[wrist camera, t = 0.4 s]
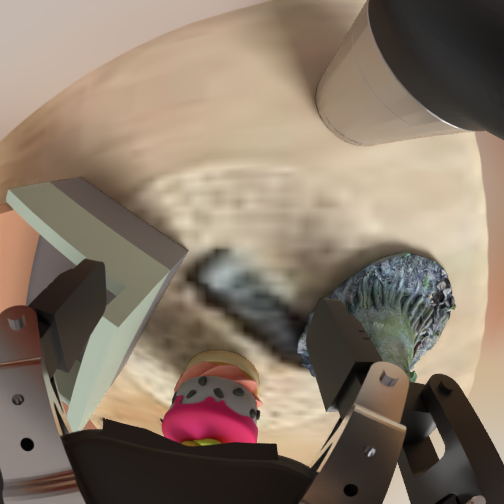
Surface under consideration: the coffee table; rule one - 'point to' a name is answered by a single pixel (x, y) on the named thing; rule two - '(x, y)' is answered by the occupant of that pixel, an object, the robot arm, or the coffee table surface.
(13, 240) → the panel
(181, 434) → the cake
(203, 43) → the coffee table surface
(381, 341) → the tree stump
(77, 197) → the truck bed
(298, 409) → the coffee table surface
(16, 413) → the robot arm
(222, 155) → the coffee table surface
